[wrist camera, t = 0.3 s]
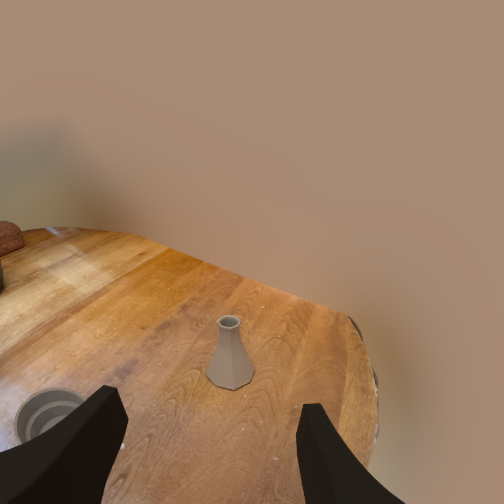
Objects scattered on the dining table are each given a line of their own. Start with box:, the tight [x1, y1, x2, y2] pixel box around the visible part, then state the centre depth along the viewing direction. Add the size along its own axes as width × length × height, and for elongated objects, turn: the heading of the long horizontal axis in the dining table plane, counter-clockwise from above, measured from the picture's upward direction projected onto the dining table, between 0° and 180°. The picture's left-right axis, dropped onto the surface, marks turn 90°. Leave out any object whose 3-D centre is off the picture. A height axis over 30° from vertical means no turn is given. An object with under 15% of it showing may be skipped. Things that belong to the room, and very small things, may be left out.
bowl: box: [14, 388, 87, 445], centre depth 23 cm, size 12×12×5 cm
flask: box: [205, 315, 255, 390], centre depth 39 cm, size 7×7×10 cm
